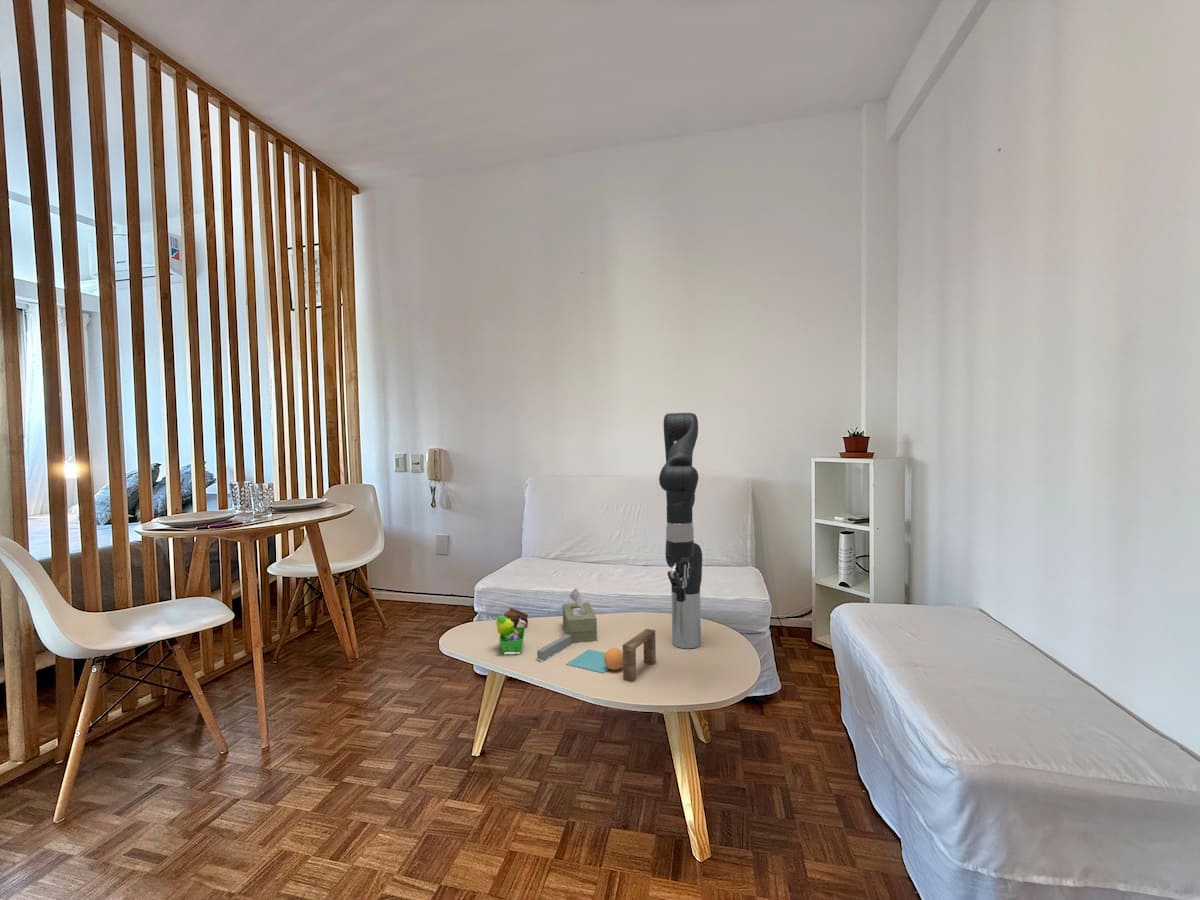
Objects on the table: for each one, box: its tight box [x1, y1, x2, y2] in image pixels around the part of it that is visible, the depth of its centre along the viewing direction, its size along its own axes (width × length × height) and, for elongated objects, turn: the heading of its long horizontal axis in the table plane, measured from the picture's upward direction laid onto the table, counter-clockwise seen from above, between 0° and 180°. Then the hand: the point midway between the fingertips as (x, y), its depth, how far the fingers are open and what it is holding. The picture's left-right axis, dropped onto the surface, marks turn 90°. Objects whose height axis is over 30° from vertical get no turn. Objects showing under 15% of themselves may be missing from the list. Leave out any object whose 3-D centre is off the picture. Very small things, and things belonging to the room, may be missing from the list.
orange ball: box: [604, 647, 623, 671], centre depth 156 cm, size 6×6×6 cm
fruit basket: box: [495, 614, 526, 653], centre depth 173 cm, size 11×9×11 cm
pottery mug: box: [503, 607, 529, 628], centre depth 192 cm, size 12×10×8 cm
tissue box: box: [562, 588, 598, 644], centre depth 187 cm, size 19×10×16 cm, turn 9°
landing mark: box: [566, 648, 610, 674], centre depth 163 cm, size 13×13×1 cm
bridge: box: [622, 628, 657, 683], centre depth 155 cm, size 3×15×10 cm, turn 149°
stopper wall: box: [536, 634, 573, 660], centre depth 170 cm, size 16×2×3 cm, turn 149°
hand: (681, 601), depth 148 cm, fingers closed
